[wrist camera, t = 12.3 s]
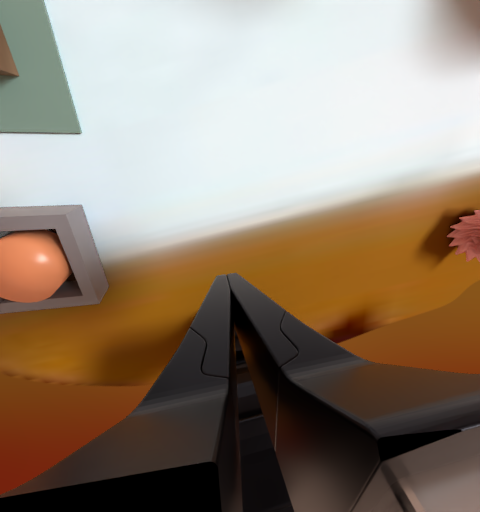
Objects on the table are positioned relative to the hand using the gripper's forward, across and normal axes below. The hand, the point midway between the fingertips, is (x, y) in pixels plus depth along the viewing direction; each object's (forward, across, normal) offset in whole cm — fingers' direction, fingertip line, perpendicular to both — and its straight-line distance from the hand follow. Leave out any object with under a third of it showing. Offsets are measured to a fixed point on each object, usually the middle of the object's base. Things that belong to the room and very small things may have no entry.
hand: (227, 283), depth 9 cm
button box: (+12, +14, +2) cm, 19 cm away
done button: (+11, +14, +3) cm, 18 cm away
